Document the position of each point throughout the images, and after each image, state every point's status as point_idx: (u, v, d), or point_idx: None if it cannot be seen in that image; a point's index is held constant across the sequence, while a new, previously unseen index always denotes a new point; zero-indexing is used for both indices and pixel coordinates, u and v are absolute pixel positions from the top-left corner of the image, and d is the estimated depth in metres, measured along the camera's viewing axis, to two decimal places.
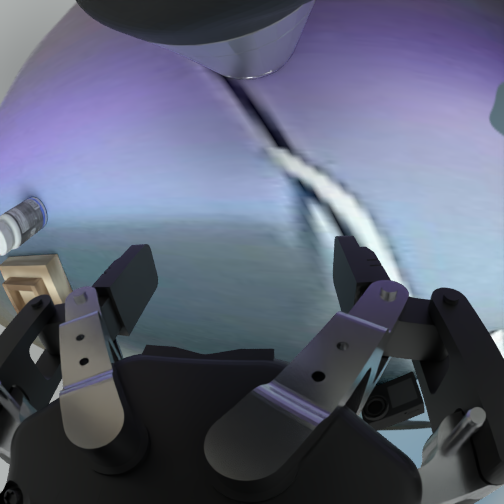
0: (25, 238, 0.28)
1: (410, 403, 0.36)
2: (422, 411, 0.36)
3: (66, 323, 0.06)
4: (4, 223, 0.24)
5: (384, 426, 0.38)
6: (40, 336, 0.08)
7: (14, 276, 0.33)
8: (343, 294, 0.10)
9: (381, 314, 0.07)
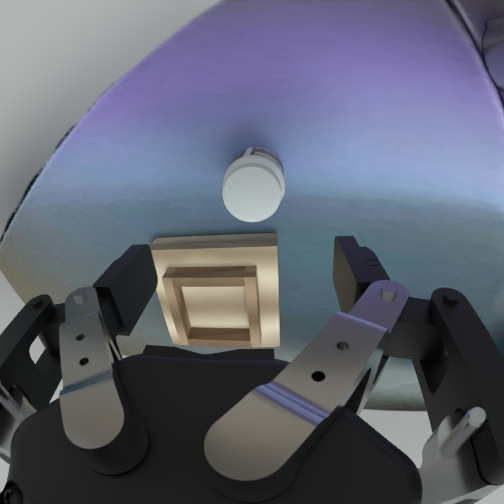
0: None
1: None
2: None
3: (66, 323, 0.06)
4: (267, 168, 0.20)
5: None
6: (40, 336, 0.08)
7: (183, 266, 0.29)
8: (343, 294, 0.10)
9: (381, 314, 0.07)
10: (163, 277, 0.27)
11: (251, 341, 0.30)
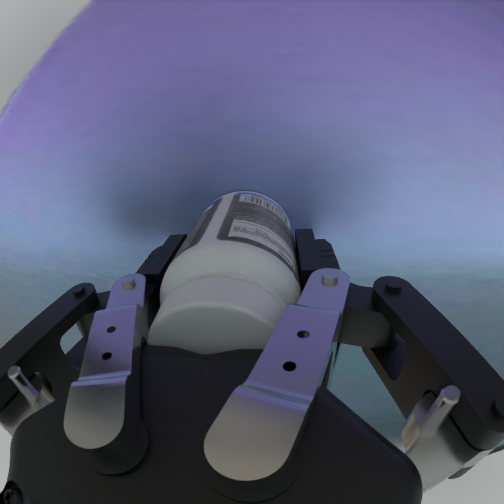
0: None
1: None
2: None
3: (103, 311, 0.07)
4: (260, 285, 0.08)
5: None
6: (81, 326, 0.08)
7: None
8: None
9: (328, 300, 0.07)
10: None
11: None
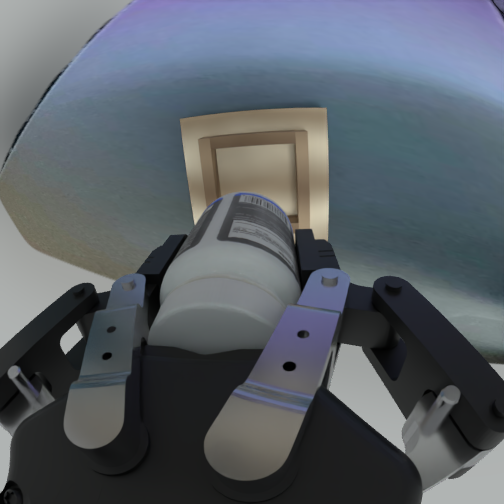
0: None
1: None
2: None
3: (103, 311, 0.07)
4: (260, 286, 0.08)
5: None
6: (81, 326, 0.08)
7: (222, 133, 0.24)
8: None
9: (328, 299, 0.07)
10: (200, 139, 0.23)
11: (299, 224, 0.26)
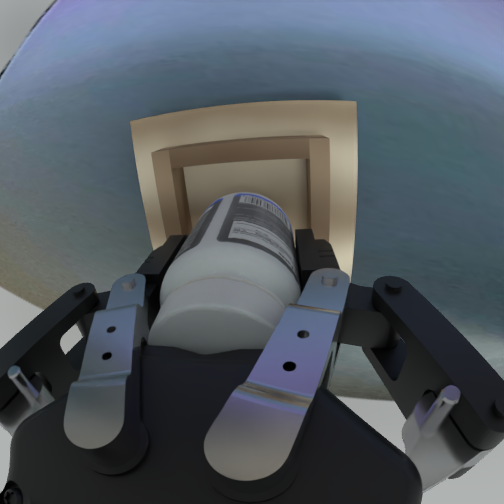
0: None
1: None
2: None
3: (102, 311, 0.07)
4: (260, 287, 0.08)
5: None
6: (81, 326, 0.08)
7: (192, 141, 0.15)
8: None
9: (328, 299, 0.07)
10: (154, 152, 0.14)
11: None
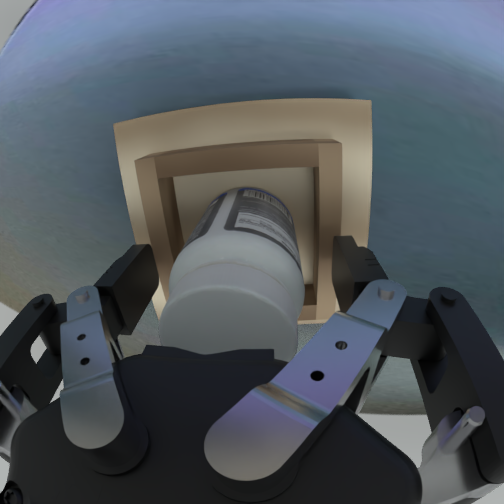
0: None
1: None
2: None
3: (67, 322, 0.06)
4: (265, 271, 0.08)
5: None
6: (41, 335, 0.08)
7: (182, 145, 0.13)
8: (341, 293, 0.10)
9: (379, 313, 0.07)
10: (138, 159, 0.12)
11: (318, 306, 0.15)
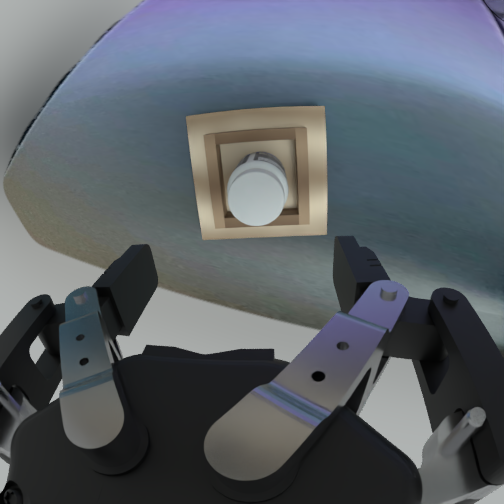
0: None
1: None
2: None
3: (66, 323, 0.06)
4: (271, 173, 0.20)
5: None
6: (40, 336, 0.08)
7: (226, 130, 0.26)
8: (343, 294, 0.10)
9: (381, 314, 0.07)
10: (205, 135, 0.24)
11: (299, 215, 0.27)
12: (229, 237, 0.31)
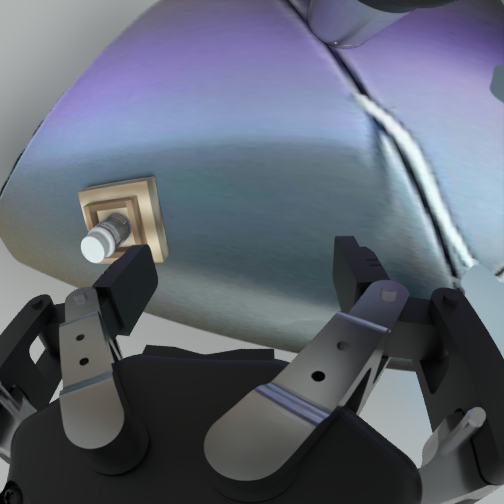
0: (116, 248, 0.39)
1: None
2: None
3: (66, 323, 0.06)
4: (100, 234, 0.35)
5: None
6: (40, 336, 0.08)
7: (97, 200, 0.40)
8: (343, 294, 0.10)
9: (381, 314, 0.07)
10: (84, 206, 0.39)
11: None
12: (110, 262, 0.46)
